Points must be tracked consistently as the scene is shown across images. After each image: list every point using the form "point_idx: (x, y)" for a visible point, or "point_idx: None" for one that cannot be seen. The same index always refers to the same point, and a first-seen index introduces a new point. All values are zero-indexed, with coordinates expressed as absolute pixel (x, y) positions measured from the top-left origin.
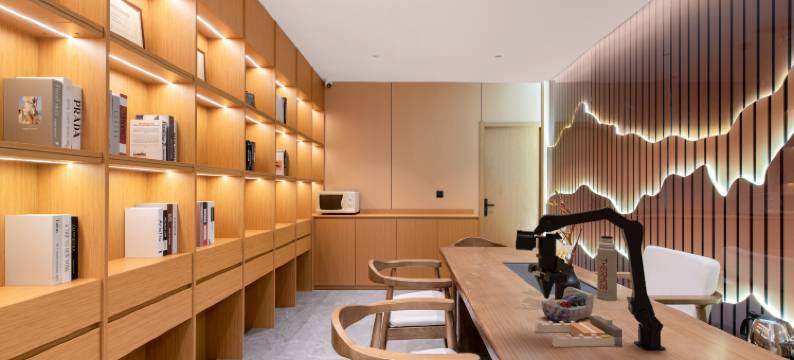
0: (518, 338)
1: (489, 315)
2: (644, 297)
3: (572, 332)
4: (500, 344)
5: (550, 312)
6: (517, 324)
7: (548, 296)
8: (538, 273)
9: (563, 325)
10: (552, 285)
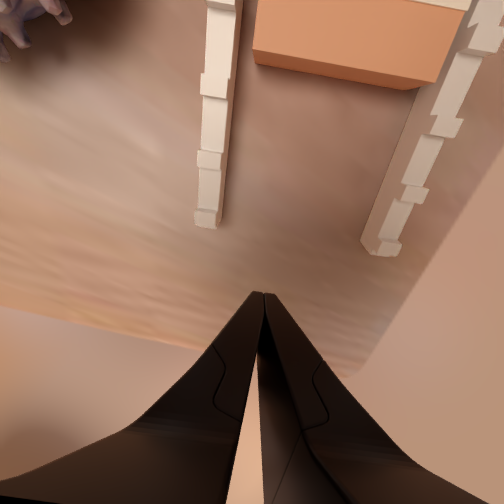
0: None
1: (13, 283)
2: None
3: (284, 64)
4: None
5: (6, 30)
6: (118, 240)
7: (281, 309)
8: None
9: (229, 86)
10: (376, 435)
